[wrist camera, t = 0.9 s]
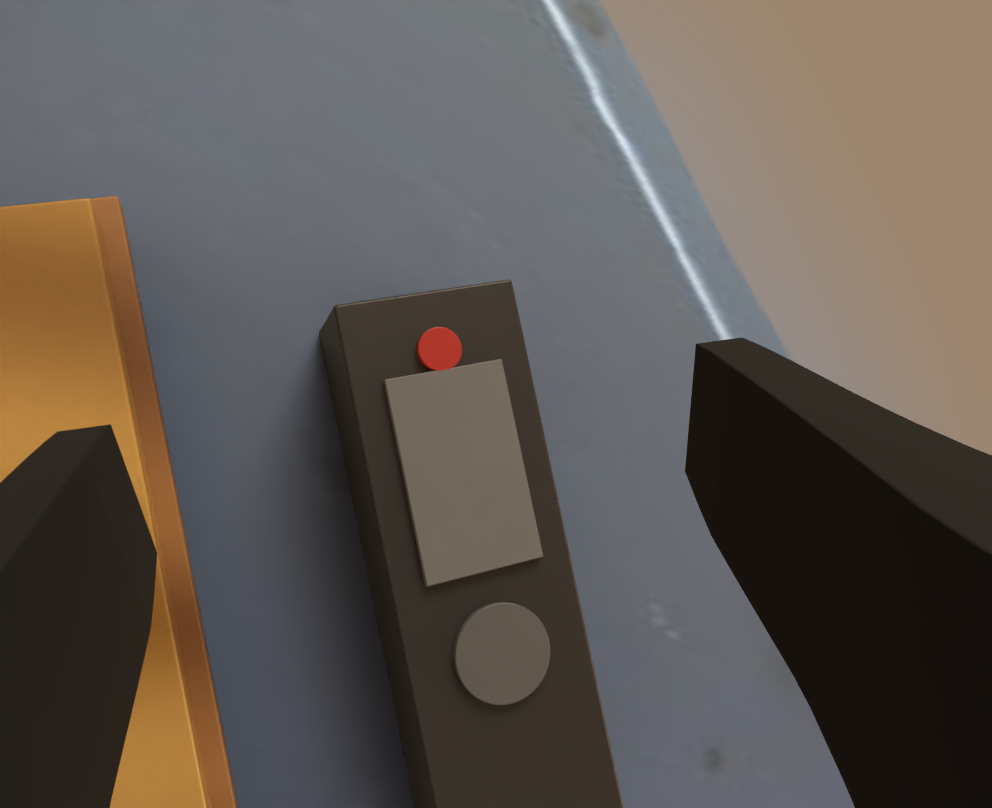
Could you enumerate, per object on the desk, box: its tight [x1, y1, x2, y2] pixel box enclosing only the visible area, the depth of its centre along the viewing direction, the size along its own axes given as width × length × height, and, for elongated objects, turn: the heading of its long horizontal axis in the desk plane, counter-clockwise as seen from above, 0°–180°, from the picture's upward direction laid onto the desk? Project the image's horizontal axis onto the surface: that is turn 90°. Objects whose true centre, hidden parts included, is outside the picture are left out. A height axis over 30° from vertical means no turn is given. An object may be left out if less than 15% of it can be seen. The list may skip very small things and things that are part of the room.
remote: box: [319, 280, 623, 808], centre depth 23 cm, size 15×5×4 cm, turn 13°
